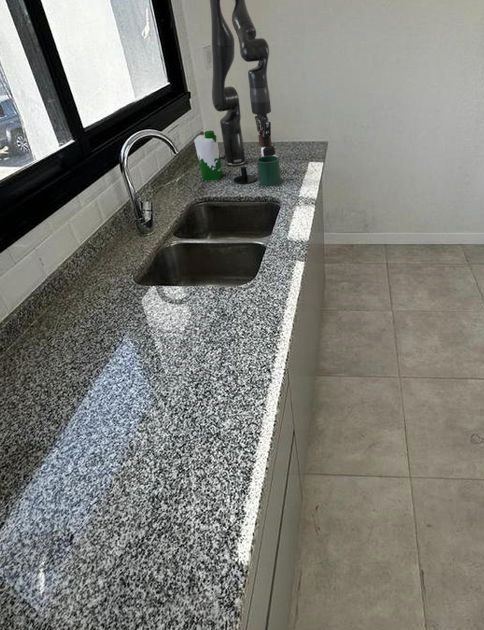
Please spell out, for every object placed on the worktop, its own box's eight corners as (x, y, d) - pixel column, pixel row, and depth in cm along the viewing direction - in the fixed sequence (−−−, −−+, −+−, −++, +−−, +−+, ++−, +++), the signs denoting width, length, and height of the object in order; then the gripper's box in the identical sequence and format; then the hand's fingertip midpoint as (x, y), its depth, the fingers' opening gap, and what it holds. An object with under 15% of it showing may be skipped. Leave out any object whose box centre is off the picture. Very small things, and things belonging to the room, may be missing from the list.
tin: (257, 182, 191) (254, 157, 185) (277, 178, 194) (274, 154, 188) (263, 189, 184) (260, 164, 178) (284, 185, 187) (281, 160, 181)
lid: (231, 180, 194) (229, 166, 191) (253, 176, 198) (251, 162, 194) (237, 187, 187) (234, 172, 183) (259, 183, 190) (257, 168, 186)
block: (259, 145, 180) (258, 135, 178) (268, 143, 181) (267, 133, 179) (262, 147, 177) (261, 137, 175) (271, 146, 178) (270, 135, 176)
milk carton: (220, 181, 193) (211, 134, 181) (200, 182, 194) (190, 135, 182) (225, 175, 200) (217, 129, 188) (205, 175, 201) (196, 129, 189)
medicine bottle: (279, 171, 202) (277, 144, 194) (276, 176, 196) (274, 149, 189) (264, 171, 202) (261, 144, 195) (261, 176, 197) (257, 149, 189)
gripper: (275, 101, 165) (279, 148, 175) (264, 95, 175) (268, 139, 186) (256, 104, 162) (261, 151, 173) (245, 97, 173) (251, 142, 183)
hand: (265, 144), depth 179 cm, fingers closed on block, 4 cm apart
